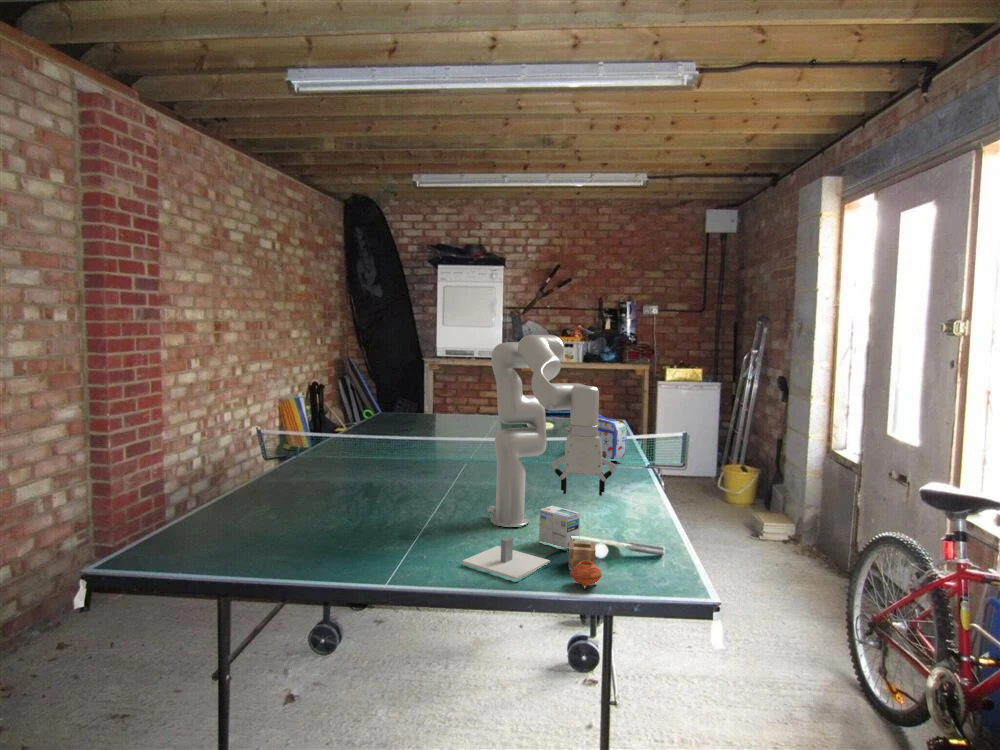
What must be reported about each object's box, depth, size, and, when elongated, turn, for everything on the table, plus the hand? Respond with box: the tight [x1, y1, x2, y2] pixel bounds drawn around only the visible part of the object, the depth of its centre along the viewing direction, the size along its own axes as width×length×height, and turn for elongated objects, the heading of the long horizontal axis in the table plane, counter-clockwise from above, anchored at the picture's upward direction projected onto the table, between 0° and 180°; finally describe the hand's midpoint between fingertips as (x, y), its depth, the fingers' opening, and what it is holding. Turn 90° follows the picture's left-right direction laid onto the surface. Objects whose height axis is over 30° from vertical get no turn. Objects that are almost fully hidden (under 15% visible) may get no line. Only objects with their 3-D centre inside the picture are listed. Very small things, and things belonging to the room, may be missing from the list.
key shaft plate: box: [461, 536, 551, 580], centre depth 177 cm, size 18×16×8 cm
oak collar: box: [567, 540, 596, 567], centre depth 178 cm, size 7×7×6 cm
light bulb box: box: [538, 505, 581, 548], centre depth 194 cm, size 11×7×11 cm, turn 48°
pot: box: [569, 561, 603, 587], centre depth 165 cm, size 8×8×7 cm
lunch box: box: [598, 414, 628, 459], centre depth 325 cm, size 28×10×22 cm, turn 30°
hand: (582, 493), depth 176 cm, fingers open, 9 cm apart
